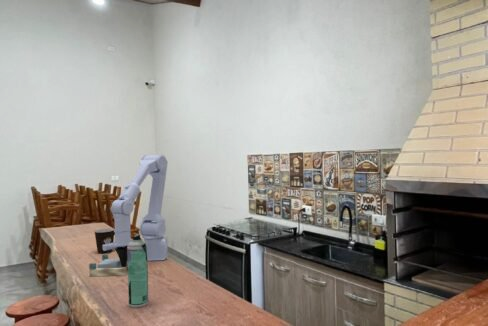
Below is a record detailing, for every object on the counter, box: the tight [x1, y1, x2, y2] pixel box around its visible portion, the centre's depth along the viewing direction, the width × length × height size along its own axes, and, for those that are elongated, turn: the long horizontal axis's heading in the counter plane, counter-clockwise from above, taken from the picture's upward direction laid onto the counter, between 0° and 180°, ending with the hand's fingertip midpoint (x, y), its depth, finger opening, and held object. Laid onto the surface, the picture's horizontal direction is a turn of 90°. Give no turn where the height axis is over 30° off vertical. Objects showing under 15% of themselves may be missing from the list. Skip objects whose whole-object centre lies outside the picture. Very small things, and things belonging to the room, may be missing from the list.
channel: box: [88, 253, 128, 278], centre depth 135 cm, size 13×13×4 cm
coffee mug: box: [94, 228, 115, 255], centre depth 164 cm, size 12×9×10 cm
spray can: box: [127, 233, 149, 309], centre depth 102 cm, size 6×6×20 cm
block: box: [97, 258, 124, 269], centre depth 136 cm, size 7×7×4 cm
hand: (123, 266), depth 135 cm, fingers closed
